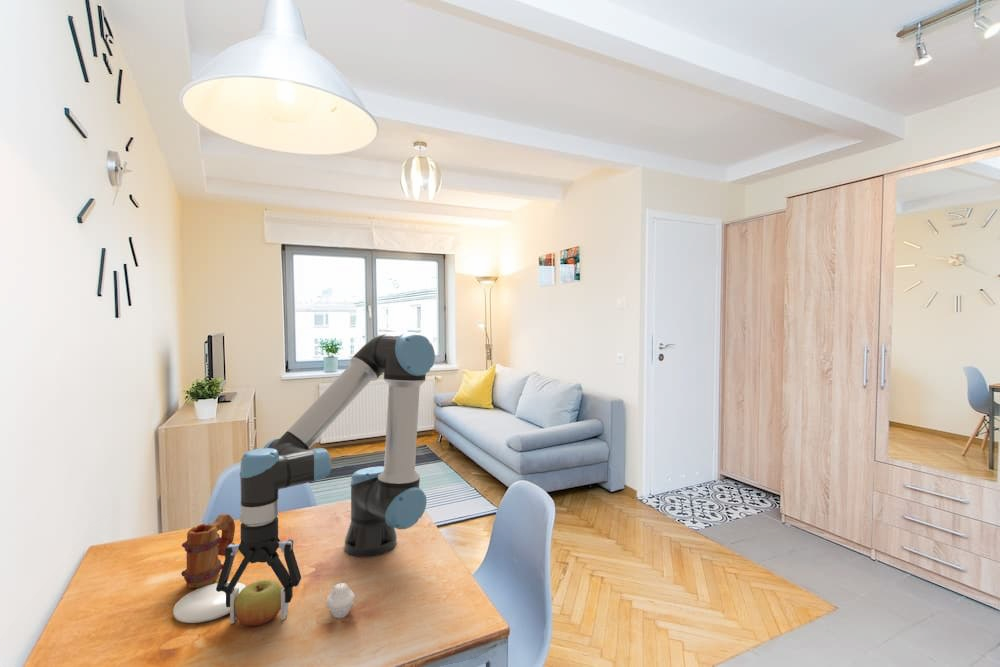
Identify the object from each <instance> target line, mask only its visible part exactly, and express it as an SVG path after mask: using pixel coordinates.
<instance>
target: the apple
mask: <svg viewBox="0 0 1000 667" xmlns="http://www.w3.org/2000/svg"><path fill="white" fill-rule="evenodd" d="M282 588H283V586H281V585H280V583H279V582H277V581H275V580H273V579H261V580H256V581H253V582H252V583H250V584H248V585H246V587H245V588H243V589H242V590H241V592H240V593H239V595H238V597H237V599H236V601H235V614H236V617H237V620H238V621H239V622H240V623H242V624H243V625H244V626H248V627H259V626H261V625H264V624H266V623H269V622H270V621H271V620H273V619H274V618H275V617H276V616H277V615H278V614H279V612H281V590H282Z"/></svg>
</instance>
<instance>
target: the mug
mask: <svg viewBox="0 0 1000 667" xmlns="http://www.w3.org/2000/svg"><path fill="white" fill-rule="evenodd" d="M235 530H236V525H235V520H234V518H233V516H232V515H231V514H228V513H220V514H219V515H218V516H217V517H216V518H215V520H214V521H213V522H212V523H207V524H205V523H203V524H198V525H197V526H194V527H192V528H190V529H189V530H188V532H187V533H186V541H184V542H183V543H182V544H181V546H182V548H184V551H185V552H186V556H185V557H186V569H185V570H183V571H181V577H184V578H183V579H184V581H185V582H186V586H187V587H188V588H196V589H199V588H202V587H204V586H208V585H211V584H214V583H215V582H216V580H218V579H219V577H220V573H221V571H222V567H223V564H224V563H223V564H222V561H221V560H220V559H219V556H223V557H225V549H226V548H227V547H228V545H229V544H230V543H234V537H235V532H236V531H235ZM218 531H221V536H220V534H219V533H218Z"/></svg>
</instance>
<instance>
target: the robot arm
mask: <svg viewBox="0 0 1000 667" xmlns="http://www.w3.org/2000/svg"><path fill="white" fill-rule="evenodd" d="M435 353H436V352H435V349H434V346H433V344H432V342H431V341H430V340H429V339H428V338H427V336H425V335H424V334H420V333H418V332H411V331H408V332H407V331H405V332H403V331H402V332H401V331H400V332H397V331H395V332H394V331H385V332H382V333H380V334H378V335H375V336H373V338H372V339H370V340H369V341H368V342H367V343H365V344H364V345H363V346H362V347H361V348H360V349H359V350H358V351H357V352H356V353H355V354H354V355H353V356H352V357H351V358H350V364H349V365H348V366H347V368H346V369H345V370H343V372H341V373H340V375H339V376H338V377H337V378H336V379H335V380H334V381H333V382H332V383H331V384H330V385H329V386H328V388H327V389H325V391H323V393H322V394H321V395H320V396H319V397H318V398H317V399H315V401H314V402H313V403H312V404H311V405H310V407H308V408H307V410H306V411H304V413H302V414H301V415H300V417H299V418H298V419H297V420H296V421H295V422H294V423H293V424H292V425H291V426H290V427H289V428H288V430H287V431H286V432H285V433H283V435H282V436H281V437H279V438H274V439H272V440H268V442H267V443H266V444H265V445H264V446H263V448H255V449H252V450H249V451H246V452H244V453H243V455H242V457H241V458H240V472H239V476H240V477H239V478H240V480H239V481H240V515H239V516H240V518H239V519H240V520H239V521H240V523H241V524H240V543H237V544H235V543H234V542H232V543H230V544H229V545H228V547H227V548H226V549H225V556H224V561H223V567H222V569H221V570H220V573H219V577H218V581H217V583H218V584H217V588H216V591H218V592H220V591H223V592H225V593H226V607H230V613H229V615H230V616H229V619H230V620H229V624H231V625H232V624H235V622H236V621H237V620H238V619H237V617H236V614H235V601H236V599H237V597H238V595H239V587H238V588H235V589H234V587H235V586H236V584H237V582H238V583H239V580H240V579H241V578H242V575H243V573H245V570H246V568H247V566H249V564H256V563H261V564H262V563H266V564H267V566H268V567H270V569H271V570H272V571H273V572H274V574H275V575H276V576H275V577H276V578H277V579H278V581H279V582H280V584H281V585H282V590H281V609H280V621H283V620H285V618H287V616H288V615H287V614H288V613H289V603H291V600H292V598H293V595H294V594H293V587H297V586H298V585H299V584H300V582H301V580H302V576H301V571H300V568H299V564H298V562H297V558H296V556H295V552H294V540H293V539H290V538H289V539H288V540H287V541H281V540H280V538H279V517H278V515H279V490H282V489H286V488H290V487H294V486H300V485H303V484H308V483H312V482H316V481H319V480H323V479H325V478H327V477H328V476H329V475H330V473H331V470H332V459H331V455H330V453H329V451H328V450H327V449H326V448H325V447H317V448H315V447H313V445H314V444H315V443H316V442H317V441H318V440H319V439H320V438H321V436H323V434H324V433H325V432H326V431H327V430H328V428H329V427H331V425H332V424H333V423H334V422H335V421H336V420H337V419H338V418H339V416H341V415H342V413H343V412H344V411H345V410H346V409H347V408H348V407H349V406H350V404H351V403H353V401H354V400H355V399H357V397H358V396H359V394H361V392H362V391H363V390H364V389H365V388H366V387H367V386H368V385H369V384H370V382H372V381H373V382H375V381H377V380H378V379H379V377H381V375H383V380H384V381H385V382H386V383H387V384H388V395H387V412H386V431H385V446H384V462H383V463H384V464H383V466H372V467H365V468H361V469H358V470H356V471H354V472H353V474H352V475H351V480H350V522H349V526H348V530H347V532H346V533H347V534H346V536H345V538H344V551H345V552H346V553H347V554H349V555H351V556H354V557H360V558H369V557H370V558H371V557H376V556H377V557H378V556H381V555H383V554H386V553H387V552H390V551H391V550H393V549H394V548H395V547H396V545H397V543H396V542H397V539H398V538H397V533H396V529H397V530H406V529H409V528H411V527H413V526H414V525H416V524H417V523H418V522H419V520H420V519H422V517H423V515H424V513H425V511H426V507H427V496H426V493H425V492H424V491H423V489H421V488H420V481H421V480H420V479H421V477H420V474H419V473H418V472H417V470H416V456H417V454H416V453H417V438H418V421H419V406H420V405H419V404H420V402H419V401H420V387H421V385H422V384H423V383H424V382H426V378H427V377H426V376H427V375H426V374H427V373H429V372H430V371H431V368H433V366H434V363H435V360H436V359H435V358H436V356H435V355H436V354H435ZM311 447H313V448H312V449H311ZM278 549H281V553H283V557H284V560H285V564H286V567H287V568H286V567H285V565H284V564H283V562H282V561H281V559H280V556H279V553H278V552H277V551H278ZM238 551H239V552H240V554H242V556H243V557H244V558H243V559H242V561H241V562H240V564H239V566H238V568H237V570H236V571H235V573H234V574H233V577H232V578H231V580H230V581H229V578H230V574H231V570H232V567H233V563H234V560H235V557H236V555H237V553H238ZM227 582H230V583H227Z"/></svg>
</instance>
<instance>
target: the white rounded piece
mask: <svg viewBox="0 0 1000 667" xmlns="http://www.w3.org/2000/svg"><path fill="white" fill-rule="evenodd" d="M355 597H356V596H355V594H354V592H353V591H352V590H351V588H350V587H349V585H348V584H347V583H346V582H341V583H337V584H335V585H334V587H333V588H332V591H331V592H330V593H329V594H328V596H327V598H326V605H327V608H328V610H329V611H330V613H331V615H332V616H333V617H334V618H336V619H342V618H345V617H346V616H348V614H349V612H350V610H351V608H352V606H353V604H354V602H355Z"/></svg>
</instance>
